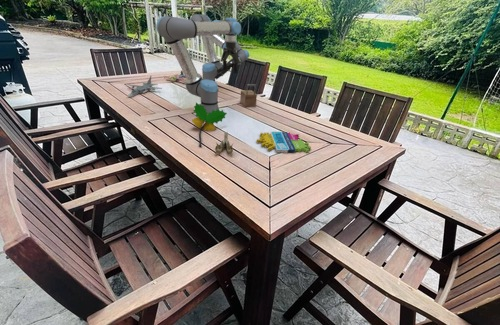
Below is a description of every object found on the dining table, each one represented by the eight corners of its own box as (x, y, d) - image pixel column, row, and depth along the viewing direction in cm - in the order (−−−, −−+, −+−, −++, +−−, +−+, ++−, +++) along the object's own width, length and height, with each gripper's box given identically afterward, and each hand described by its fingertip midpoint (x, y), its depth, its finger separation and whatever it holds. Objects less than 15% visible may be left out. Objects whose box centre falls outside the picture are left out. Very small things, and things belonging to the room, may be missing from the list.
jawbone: (234, 135, 144) (233, 125, 135) (233, 160, 138) (232, 151, 129) (217, 135, 144) (216, 125, 135) (216, 160, 138) (214, 150, 129)
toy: (196, 71, 285) (184, 76, 259) (196, 78, 288) (184, 83, 262) (173, 69, 290) (158, 73, 264) (173, 75, 293) (159, 80, 267)
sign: (313, 150, 142) (258, 149, 139) (312, 153, 143) (258, 152, 140) (301, 132, 164) (254, 130, 161) (301, 134, 165) (254, 133, 162)
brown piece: (257, 96, 206) (257, 84, 201) (245, 96, 203) (246, 84, 198) (251, 91, 217) (252, 80, 213) (240, 91, 214) (241, 80, 210)
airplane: (121, 87, 235) (119, 76, 230) (157, 85, 248) (156, 74, 243) (125, 100, 206) (123, 87, 201) (166, 97, 219) (165, 85, 214)
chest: (255, 106, 211) (256, 96, 206) (244, 107, 208) (245, 96, 204) (250, 102, 221) (251, 91, 217) (240, 102, 219) (240, 91, 214)
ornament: (218, 133, 171) (224, 110, 169) (221, 134, 163) (227, 111, 161) (186, 125, 162) (192, 101, 160) (189, 126, 155) (195, 101, 153)
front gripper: (245, 43, 187) (244, 74, 197) (224, 39, 202) (224, 68, 213) (237, 43, 182) (236, 75, 192) (216, 39, 198) (216, 69, 208)
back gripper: (240, 59, 221) (221, 72, 216) (234, 71, 245) (217, 83, 240) (234, 52, 220) (215, 65, 215) (229, 64, 244) (211, 77, 239)
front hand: (230, 71), depth 203 cm, fingers open, 13 cm apart
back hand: (216, 75), depth 227 cm, fingers open, 13 cm apart
